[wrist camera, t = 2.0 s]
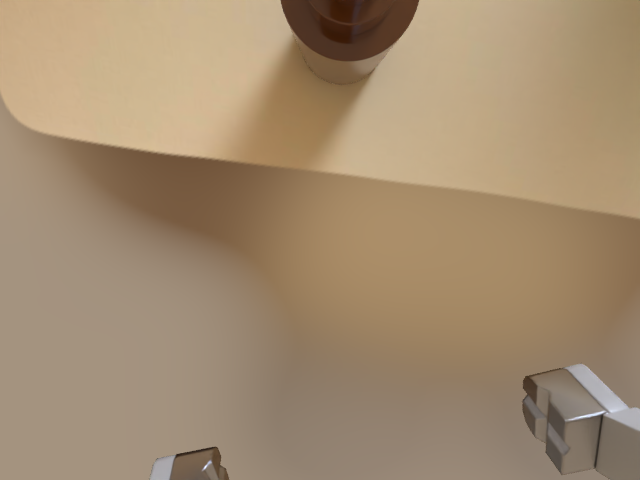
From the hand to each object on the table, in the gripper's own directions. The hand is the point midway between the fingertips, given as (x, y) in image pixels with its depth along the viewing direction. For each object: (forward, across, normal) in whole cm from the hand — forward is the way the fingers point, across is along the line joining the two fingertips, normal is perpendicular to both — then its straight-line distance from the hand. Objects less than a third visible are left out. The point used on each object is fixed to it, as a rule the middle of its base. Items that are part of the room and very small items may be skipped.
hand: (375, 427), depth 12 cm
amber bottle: (+23, -4, -9) cm, 25 cm away
